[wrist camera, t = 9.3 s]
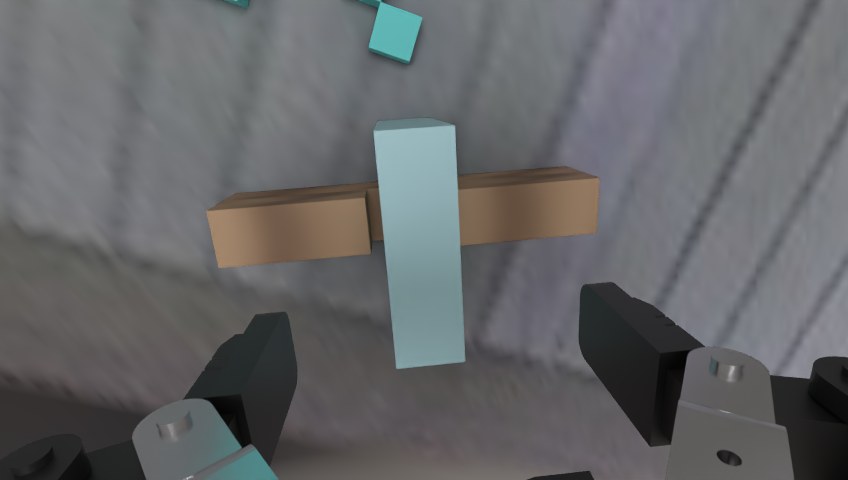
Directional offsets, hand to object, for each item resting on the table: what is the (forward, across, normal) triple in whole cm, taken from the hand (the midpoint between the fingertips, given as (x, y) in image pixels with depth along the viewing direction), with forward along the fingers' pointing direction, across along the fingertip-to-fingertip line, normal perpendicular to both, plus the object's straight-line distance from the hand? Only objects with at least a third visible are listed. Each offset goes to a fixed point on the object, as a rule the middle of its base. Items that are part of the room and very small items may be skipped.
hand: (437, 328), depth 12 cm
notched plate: (+16, 0, 0) cm, 16 cm away
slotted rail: (+16, 0, 0) cm, 16 cm away
